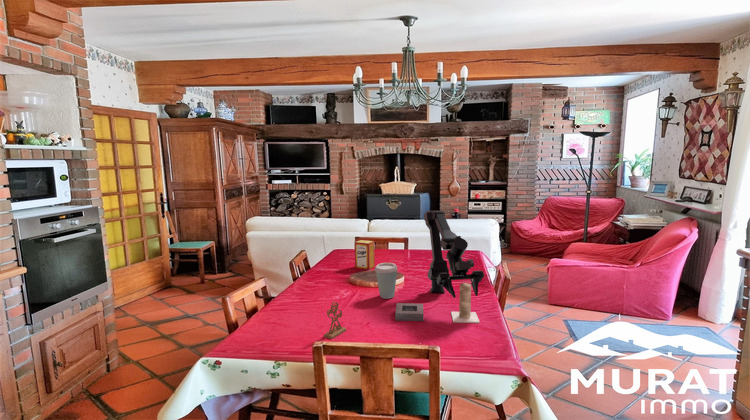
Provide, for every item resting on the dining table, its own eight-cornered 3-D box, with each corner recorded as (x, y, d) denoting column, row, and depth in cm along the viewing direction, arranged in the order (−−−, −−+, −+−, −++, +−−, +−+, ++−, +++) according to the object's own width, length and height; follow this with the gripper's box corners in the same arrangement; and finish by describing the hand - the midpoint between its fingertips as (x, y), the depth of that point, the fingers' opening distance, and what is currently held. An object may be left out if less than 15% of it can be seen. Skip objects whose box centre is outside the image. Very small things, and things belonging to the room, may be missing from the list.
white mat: (451, 312, 166) (451, 311, 166) (475, 313, 165) (475, 312, 165) (453, 322, 156) (453, 321, 156) (479, 323, 155) (479, 321, 155)
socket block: (396, 310, 170) (396, 303, 169) (422, 310, 169) (422, 303, 168) (395, 320, 159) (395, 313, 158) (423, 321, 158) (423, 313, 157)
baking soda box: (355, 268, 236) (354, 241, 234) (361, 265, 242) (360, 239, 240) (368, 270, 231) (368, 242, 229) (374, 267, 237) (374, 240, 235)
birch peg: (456, 315, 161) (457, 284, 160) (464, 313, 164) (465, 282, 162) (464, 319, 158) (465, 287, 156) (472, 317, 160) (473, 285, 158)
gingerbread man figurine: (338, 328, 152) (337, 297, 151) (346, 330, 150) (346, 299, 149) (323, 336, 145) (322, 304, 143) (331, 339, 143) (330, 307, 141)
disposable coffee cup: (396, 301, 180) (395, 268, 178) (372, 299, 182) (372, 267, 181) (399, 293, 191) (399, 262, 189) (377, 292, 193) (376, 261, 191)
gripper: (439, 253, 160) (448, 289, 151) (483, 251, 163) (495, 285, 154) (432, 267, 169) (441, 301, 159) (474, 264, 172) (485, 298, 163)
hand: (465, 296), depth 159 cm, fingers open, 9 cm apart
